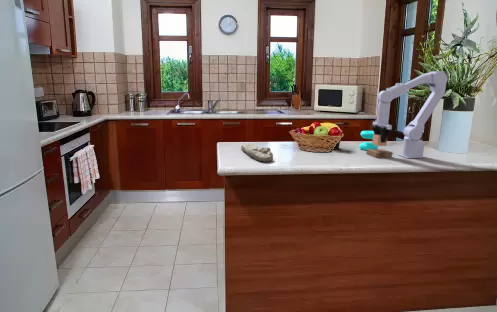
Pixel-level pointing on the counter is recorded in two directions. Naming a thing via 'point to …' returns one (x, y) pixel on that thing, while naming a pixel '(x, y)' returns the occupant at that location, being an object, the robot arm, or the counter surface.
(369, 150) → the slab
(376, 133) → the robot arm
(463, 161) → the counter surface
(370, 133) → the donuts
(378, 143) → the cube
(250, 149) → the long grey stone
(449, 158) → the counter surface
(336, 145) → the coffee mug
